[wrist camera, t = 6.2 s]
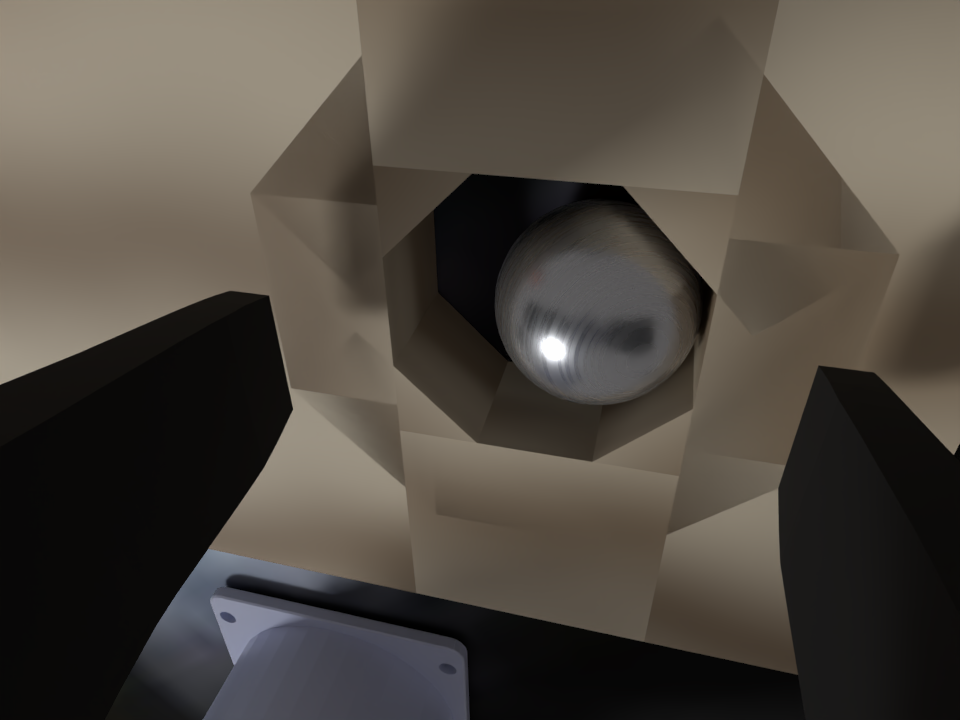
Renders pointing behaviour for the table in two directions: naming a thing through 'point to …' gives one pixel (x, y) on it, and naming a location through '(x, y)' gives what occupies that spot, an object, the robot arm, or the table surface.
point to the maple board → (447, 334)
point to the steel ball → (597, 303)
